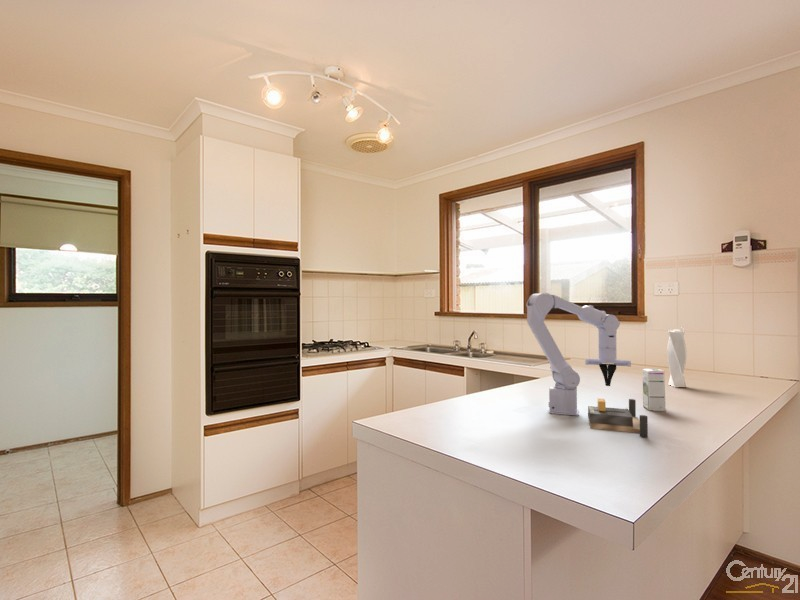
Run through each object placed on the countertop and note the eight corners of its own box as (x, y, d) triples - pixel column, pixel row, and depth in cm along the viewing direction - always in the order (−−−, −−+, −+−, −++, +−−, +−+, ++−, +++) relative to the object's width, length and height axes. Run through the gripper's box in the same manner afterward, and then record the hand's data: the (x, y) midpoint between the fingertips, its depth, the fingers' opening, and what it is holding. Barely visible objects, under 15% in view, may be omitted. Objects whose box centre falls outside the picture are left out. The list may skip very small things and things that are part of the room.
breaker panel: (590, 428, 130) (590, 415, 130) (587, 415, 144) (587, 404, 144) (645, 433, 124) (645, 419, 124) (637, 420, 138) (637, 407, 138)
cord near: (640, 437, 121) (640, 416, 121) (639, 435, 122) (639, 414, 123) (648, 438, 120) (648, 417, 120) (647, 436, 122) (646, 415, 122)
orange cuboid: (598, 410, 134) (598, 401, 134) (597, 407, 138) (597, 398, 138) (605, 411, 133) (605, 401, 133) (604, 408, 137) (604, 398, 137)
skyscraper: (691, 388, 188) (690, 326, 188) (674, 388, 188) (674, 326, 188) (679, 384, 196) (679, 325, 196) (663, 385, 196) (663, 325, 196)
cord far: (629, 417, 141) (629, 400, 141) (628, 416, 143) (628, 398, 143) (636, 418, 140) (635, 400, 140) (635, 416, 142) (635, 399, 142)
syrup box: (666, 411, 149) (665, 371, 149) (648, 410, 150) (647, 370, 150) (659, 407, 154) (659, 368, 155) (642, 406, 156) (641, 368, 156)
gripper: (585, 348, 148) (586, 386, 148) (632, 349, 143) (632, 389, 143) (584, 346, 155) (585, 382, 154) (629, 347, 149) (629, 385, 149)
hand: (607, 385), depth 149 cm, fingers closed
